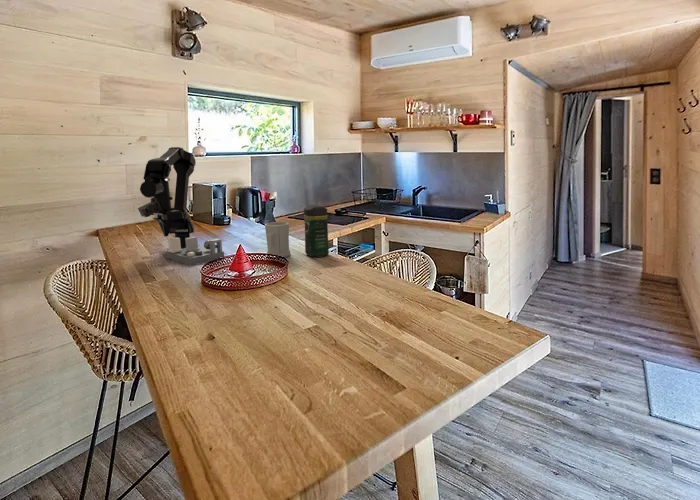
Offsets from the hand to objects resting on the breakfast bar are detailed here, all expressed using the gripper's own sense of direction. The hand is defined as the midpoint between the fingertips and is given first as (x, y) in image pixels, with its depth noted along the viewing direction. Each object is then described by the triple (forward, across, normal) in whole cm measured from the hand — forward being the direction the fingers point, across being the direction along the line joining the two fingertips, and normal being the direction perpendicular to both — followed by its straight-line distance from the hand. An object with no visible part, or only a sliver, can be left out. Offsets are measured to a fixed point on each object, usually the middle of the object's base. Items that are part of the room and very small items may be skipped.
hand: (166, 236), depth 175 cm
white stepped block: (+5, +10, +5) cm, 12 cm away
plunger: (+5, +16, +9) cm, 19 cm away
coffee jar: (+8, +44, +36) cm, 57 cm away
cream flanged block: (+5, +6, 0) cm, 8 cm away
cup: (+8, +34, +26) cm, 43 cm away
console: (+8, +11, +5) cm, 14 cm away
